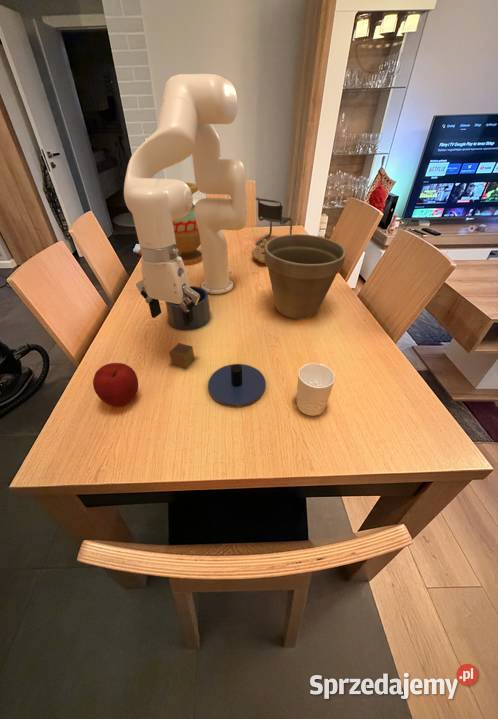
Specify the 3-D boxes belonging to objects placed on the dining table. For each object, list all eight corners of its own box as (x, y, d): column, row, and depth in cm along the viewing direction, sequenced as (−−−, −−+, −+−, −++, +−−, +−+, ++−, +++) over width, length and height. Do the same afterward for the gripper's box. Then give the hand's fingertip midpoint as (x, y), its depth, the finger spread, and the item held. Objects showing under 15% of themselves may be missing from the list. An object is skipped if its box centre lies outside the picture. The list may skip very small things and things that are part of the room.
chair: (254, 245, 153) (254, 197, 139) (270, 235, 165) (271, 190, 150) (276, 249, 148) (279, 200, 134) (291, 239, 159) (295, 193, 145)
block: (181, 355, 87) (178, 342, 84) (194, 358, 85) (192, 346, 82) (172, 364, 83) (169, 352, 80) (186, 368, 82) (183, 356, 79)
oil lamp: (253, 268, 132) (254, 250, 127) (250, 255, 143) (250, 238, 138) (278, 267, 133) (279, 249, 127) (272, 254, 144) (273, 237, 139)
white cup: (291, 394, 75) (295, 364, 68) (322, 391, 75) (329, 362, 69) (297, 419, 69) (302, 389, 62) (331, 416, 69) (339, 386, 63)
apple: (121, 421, 69) (107, 391, 62) (94, 404, 72) (78, 374, 66) (151, 395, 75) (141, 365, 68) (124, 381, 78) (113, 351, 72)
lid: (224, 361, 84) (222, 343, 80) (273, 375, 80) (274, 357, 76) (198, 397, 74) (194, 379, 70) (252, 415, 70) (252, 396, 65)
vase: (217, 256, 143) (212, 184, 123) (189, 271, 130) (178, 193, 110) (185, 248, 151) (176, 179, 131) (157, 261, 138) (141, 188, 119)
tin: (183, 305, 108) (180, 283, 102) (217, 312, 104) (215, 290, 98) (161, 324, 98) (156, 301, 93) (197, 333, 94) (194, 310, 89)
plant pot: (349, 314, 102) (364, 252, 88) (291, 337, 93) (298, 270, 79) (302, 286, 119) (309, 229, 105) (249, 302, 109) (249, 242, 95)
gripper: (202, 251, 65) (209, 319, 76) (138, 241, 70) (153, 305, 81) (184, 264, 60) (194, 334, 70) (116, 252, 65) (135, 319, 76)
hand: (172, 319), depth 76 cm, fingers open, 9 cm apart
